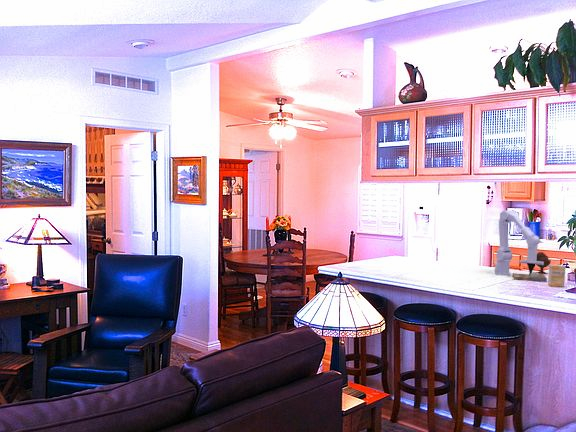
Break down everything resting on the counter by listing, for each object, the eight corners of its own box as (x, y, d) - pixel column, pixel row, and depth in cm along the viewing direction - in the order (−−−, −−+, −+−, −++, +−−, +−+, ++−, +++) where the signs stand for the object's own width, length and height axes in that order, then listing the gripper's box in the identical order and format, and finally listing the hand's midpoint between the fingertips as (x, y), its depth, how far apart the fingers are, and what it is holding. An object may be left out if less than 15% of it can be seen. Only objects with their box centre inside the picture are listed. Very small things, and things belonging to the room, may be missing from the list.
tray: (531, 280, 365) (531, 277, 365) (528, 277, 379) (528, 273, 379) (546, 281, 362) (546, 278, 362) (543, 278, 376) (543, 274, 376)
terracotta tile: (536, 278, 369) (537, 275, 369) (536, 278, 373) (536, 274, 372) (543, 279, 368) (543, 276, 368) (542, 278, 372) (543, 275, 371)
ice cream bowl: (548, 275, 389) (549, 253, 388) (531, 273, 396) (532, 252, 395) (551, 273, 397) (553, 252, 396) (535, 271, 404) (536, 250, 403)
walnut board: (514, 279, 368) (514, 276, 368) (512, 276, 382) (512, 273, 381) (530, 280, 365) (530, 277, 365) (528, 277, 379) (528, 274, 379)
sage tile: (529, 276, 370) (531, 272, 370) (529, 275, 374) (530, 272, 373) (536, 278, 369) (537, 274, 369) (535, 277, 373) (536, 274, 372)
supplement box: (550, 286, 346) (551, 265, 345) (547, 285, 351) (549, 264, 350) (564, 287, 345) (565, 265, 344) (561, 285, 350) (563, 264, 349)
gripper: (520, 254, 369) (519, 274, 370) (544, 256, 365) (543, 276, 366) (519, 252, 376) (518, 273, 377) (543, 254, 371) (541, 275, 373)
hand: (530, 274), depth 372 cm, fingers closed, pressing on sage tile
